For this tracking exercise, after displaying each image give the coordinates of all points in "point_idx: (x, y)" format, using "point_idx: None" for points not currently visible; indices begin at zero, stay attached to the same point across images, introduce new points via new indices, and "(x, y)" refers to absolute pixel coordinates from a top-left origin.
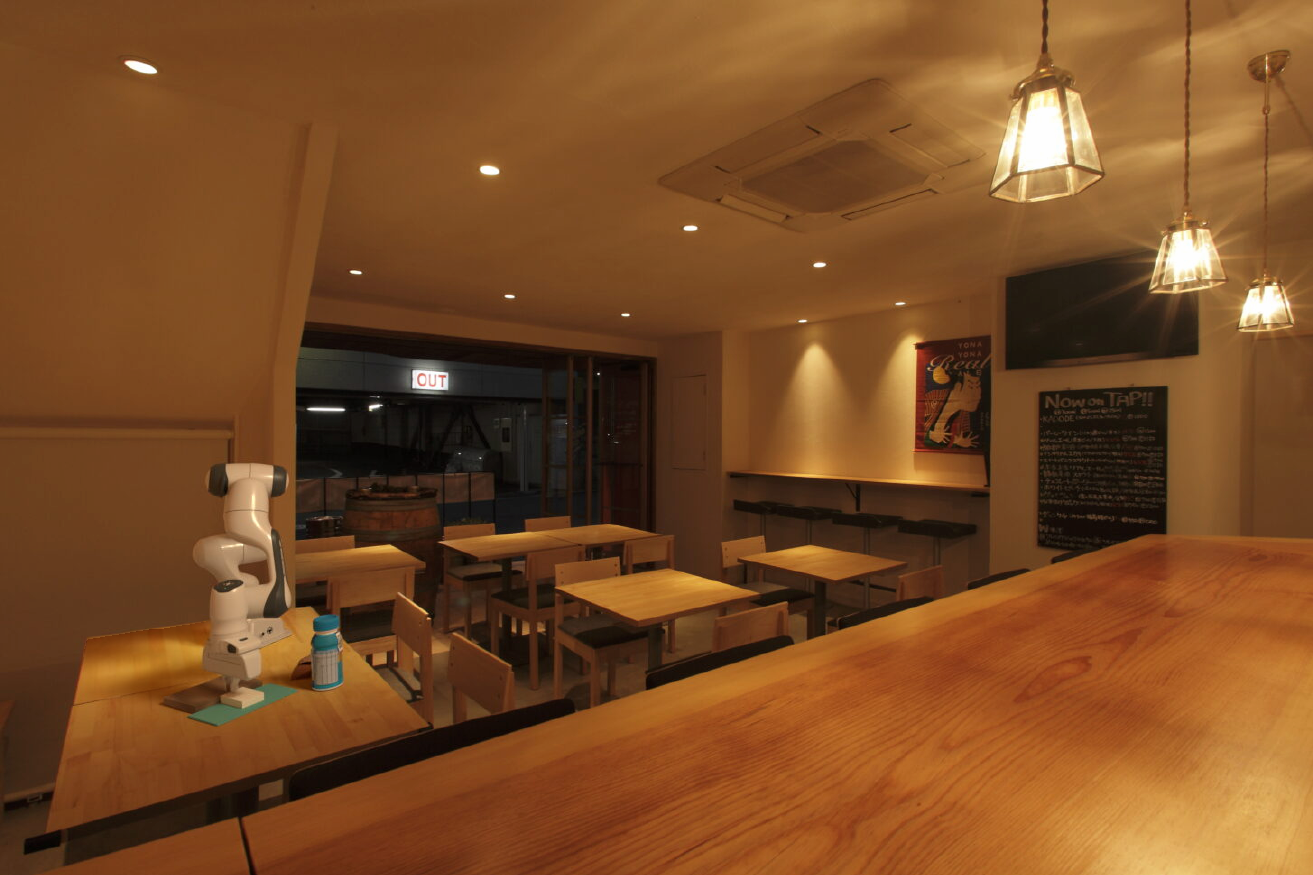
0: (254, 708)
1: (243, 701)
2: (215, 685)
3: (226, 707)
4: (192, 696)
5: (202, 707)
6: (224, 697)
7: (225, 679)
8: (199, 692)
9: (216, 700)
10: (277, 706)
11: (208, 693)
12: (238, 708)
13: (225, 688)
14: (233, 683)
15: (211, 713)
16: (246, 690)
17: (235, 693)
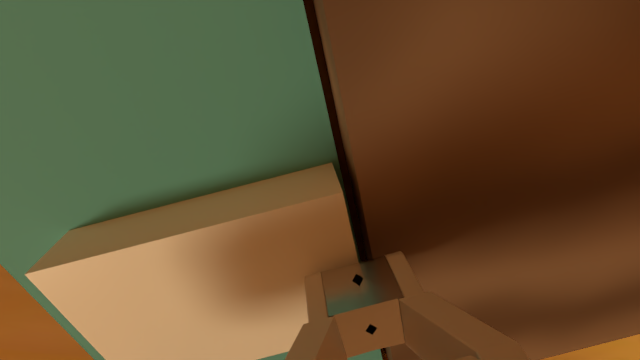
0: (20, 281)
1: (41, 279)
2: (619, 220)
3: (191, 164)
4: (624, 13)
5: (318, 11)
6: (284, 203)
7: (452, 342)
8: (636, 96)
9: (348, 147)
10: (9, 357)
11: (530, 142)
12: (98, 215)
13: (398, 260)
14: (292, 358)
15: (132, 34)
16: (277, 332)
17: (281, 277)
